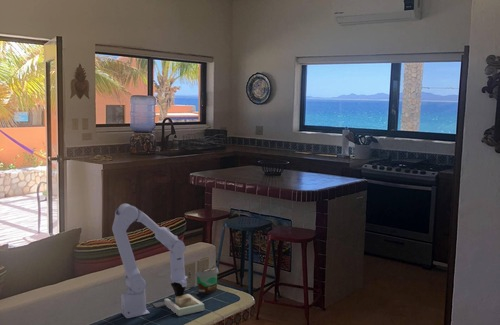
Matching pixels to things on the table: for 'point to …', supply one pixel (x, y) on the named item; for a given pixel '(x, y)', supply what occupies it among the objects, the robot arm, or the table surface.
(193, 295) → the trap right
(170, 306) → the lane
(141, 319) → the table surface
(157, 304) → the plate
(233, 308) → the table surface
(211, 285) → the food container
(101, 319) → the table surface
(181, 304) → the birch block
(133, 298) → the robot arm
